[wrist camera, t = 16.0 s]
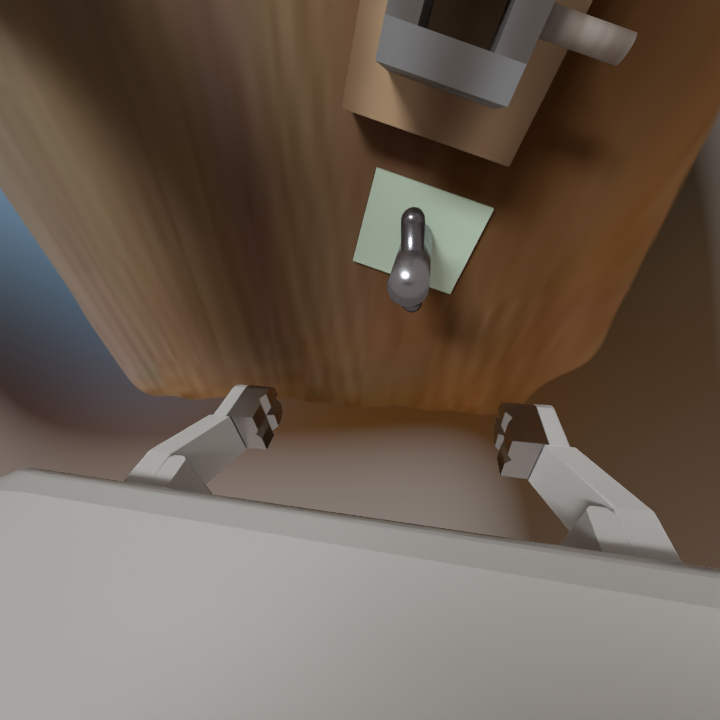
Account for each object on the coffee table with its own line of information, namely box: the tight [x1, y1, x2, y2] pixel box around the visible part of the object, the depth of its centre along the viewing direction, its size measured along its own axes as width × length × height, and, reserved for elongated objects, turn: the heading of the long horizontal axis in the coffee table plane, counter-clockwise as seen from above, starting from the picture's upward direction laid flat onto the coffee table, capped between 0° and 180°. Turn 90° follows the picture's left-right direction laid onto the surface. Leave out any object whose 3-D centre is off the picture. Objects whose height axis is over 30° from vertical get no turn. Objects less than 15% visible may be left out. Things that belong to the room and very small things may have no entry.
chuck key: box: [387, 207, 433, 312], centre depth 23 cm, size 8×3×10 cm, turn 5°
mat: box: [353, 167, 494, 294], centre depth 27 cm, size 10×8×1 cm
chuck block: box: [341, 0, 637, 167], centre depth 16 cm, size 14×12×8 cm
